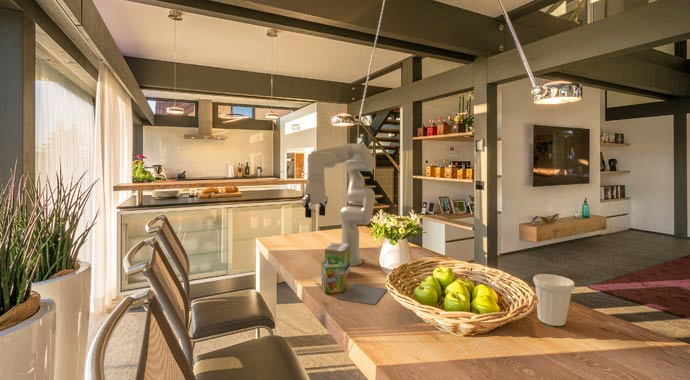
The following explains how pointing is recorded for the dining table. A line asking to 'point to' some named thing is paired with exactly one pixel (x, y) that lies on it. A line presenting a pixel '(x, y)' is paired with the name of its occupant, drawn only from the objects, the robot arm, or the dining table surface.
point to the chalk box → (333, 276)
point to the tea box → (339, 254)
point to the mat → (363, 294)
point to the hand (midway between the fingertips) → (315, 216)
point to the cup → (553, 298)
